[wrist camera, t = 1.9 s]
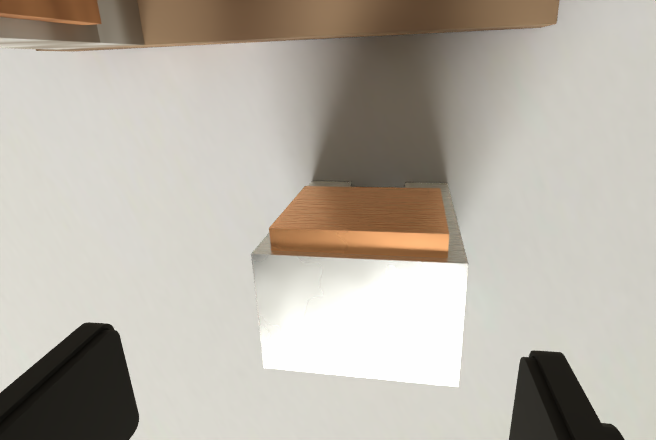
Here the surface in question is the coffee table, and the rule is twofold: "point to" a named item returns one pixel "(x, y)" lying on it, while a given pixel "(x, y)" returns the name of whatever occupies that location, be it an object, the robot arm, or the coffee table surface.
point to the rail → (248, 20)
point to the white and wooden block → (364, 283)
